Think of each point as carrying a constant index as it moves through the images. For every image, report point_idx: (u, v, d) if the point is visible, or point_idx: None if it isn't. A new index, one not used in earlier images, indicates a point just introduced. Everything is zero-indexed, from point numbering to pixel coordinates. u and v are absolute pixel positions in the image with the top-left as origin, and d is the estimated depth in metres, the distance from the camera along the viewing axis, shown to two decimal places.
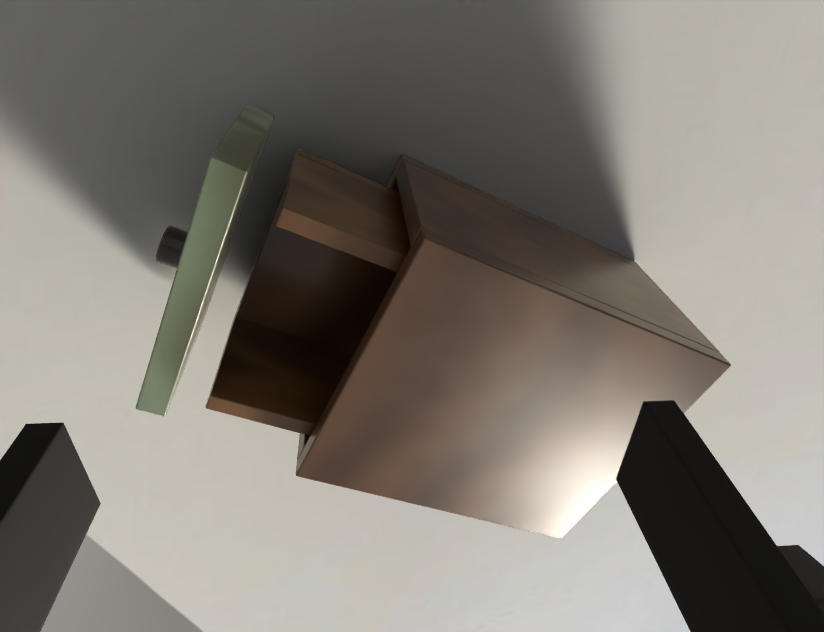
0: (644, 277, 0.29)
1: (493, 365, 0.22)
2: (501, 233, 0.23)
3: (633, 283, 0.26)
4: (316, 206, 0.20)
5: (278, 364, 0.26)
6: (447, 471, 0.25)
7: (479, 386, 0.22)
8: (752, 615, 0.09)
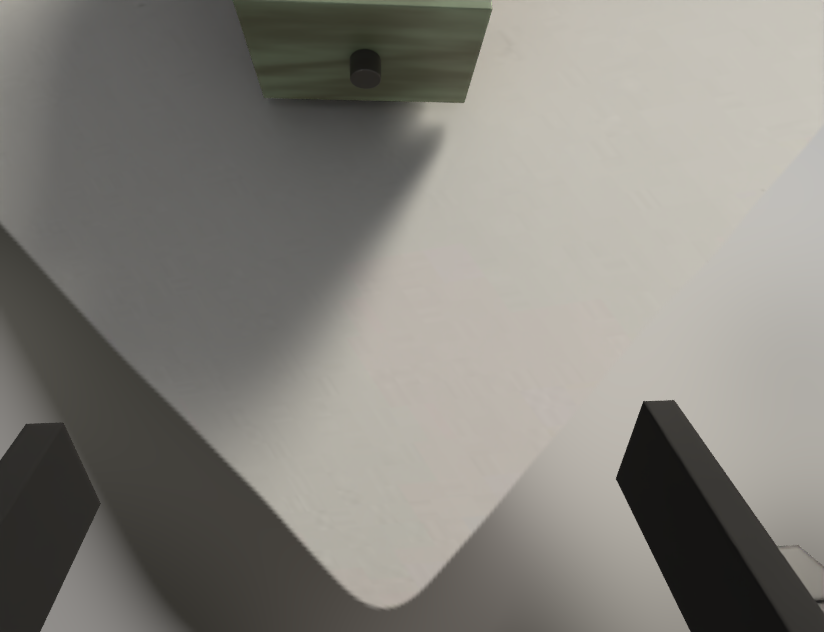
0: None
1: None
2: None
3: None
4: None
5: None
6: None
7: None
8: (752, 615, 0.09)
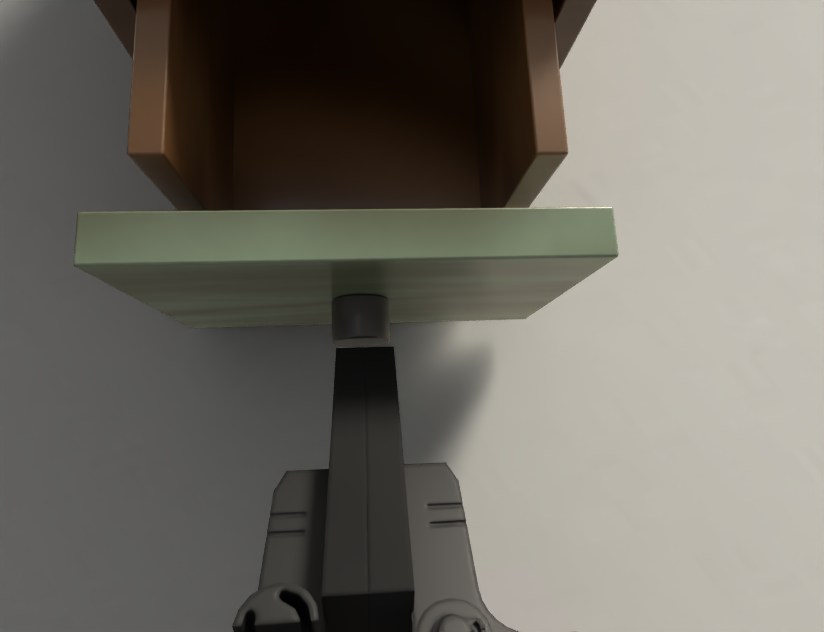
0: None
1: None
2: None
3: None
4: None
5: (495, 128, 0.16)
6: None
7: None
8: None
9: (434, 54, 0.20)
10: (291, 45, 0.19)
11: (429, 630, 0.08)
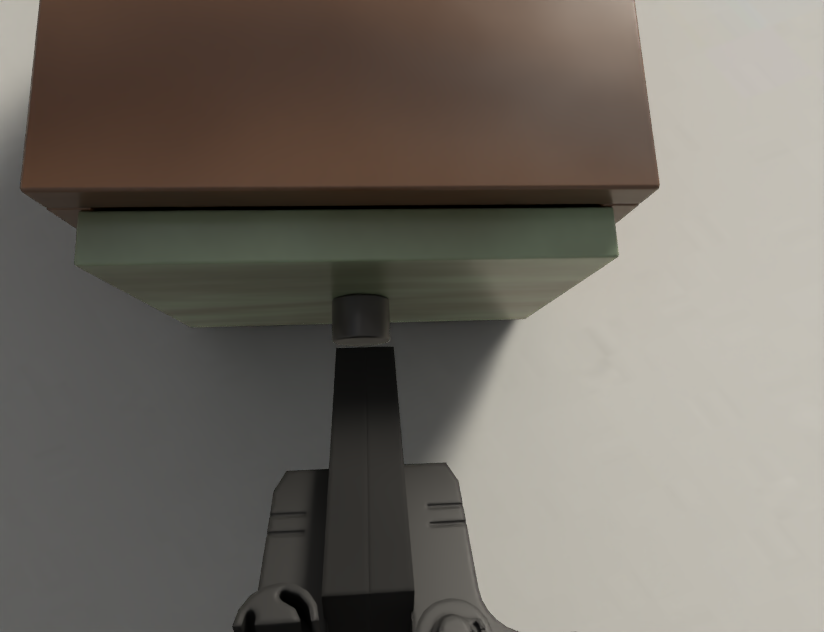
0: None
1: None
2: None
3: None
4: None
5: None
6: None
7: None
8: None
9: None
10: None
11: (429, 630, 0.08)
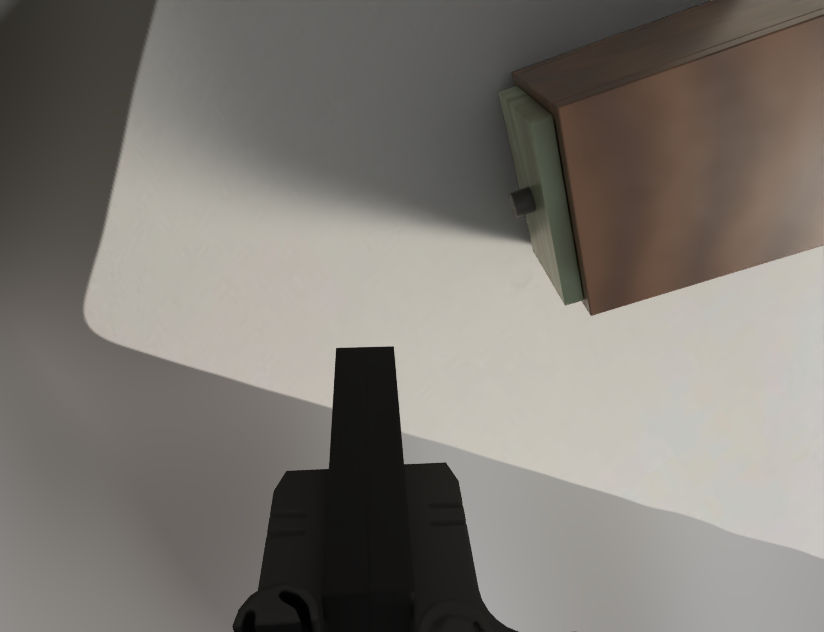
0: None
1: (669, 149, 0.27)
2: (612, 62, 0.28)
3: (753, 5, 0.29)
4: None
5: None
6: (696, 246, 0.31)
7: (669, 170, 0.28)
8: None
9: None
10: None
11: (429, 630, 0.08)
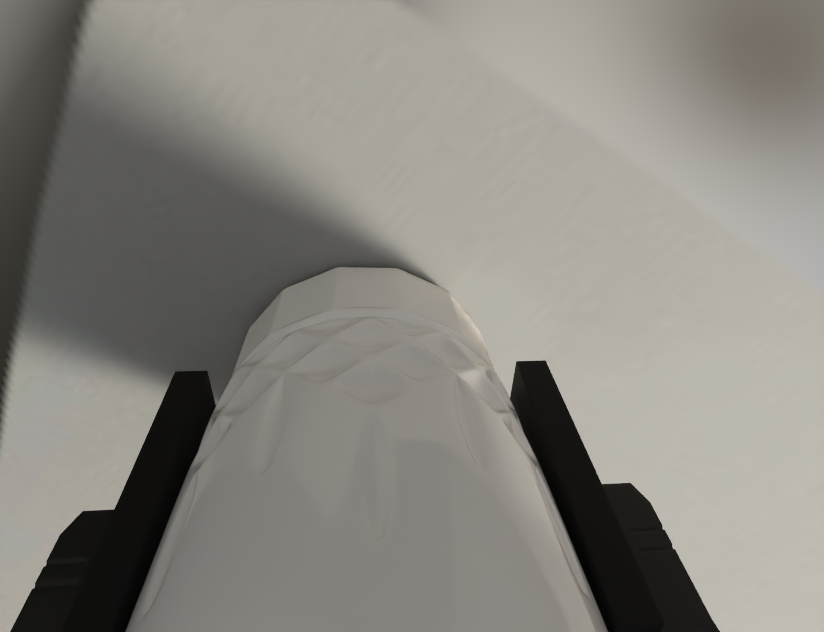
0: None
1: None
2: None
3: None
4: None
5: None
6: None
7: None
8: (570, 538, 0.10)
9: None
10: None
11: None
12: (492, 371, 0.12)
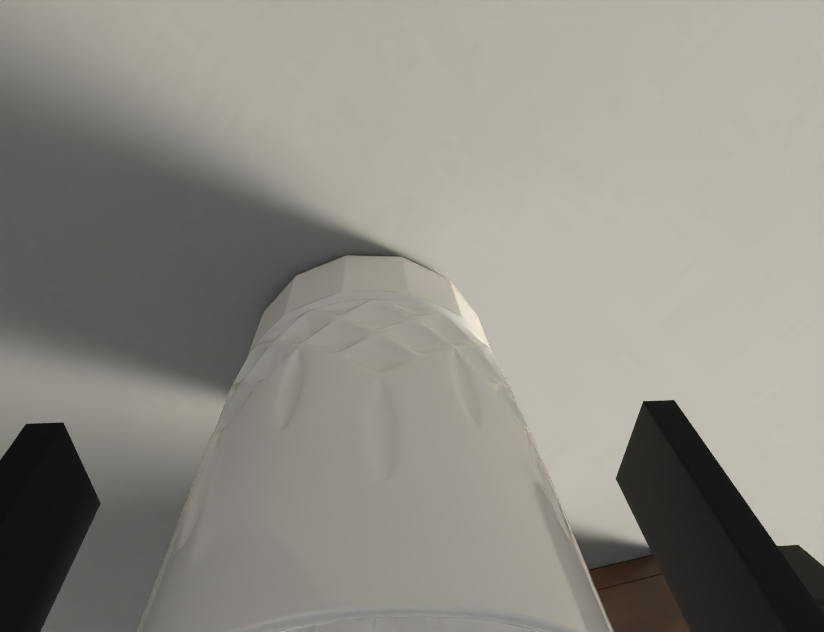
0: (676, 604, 0.22)
1: None
2: None
3: None
4: None
5: None
6: None
7: None
8: (752, 615, 0.09)
9: None
10: None
11: None
12: (488, 350, 0.13)
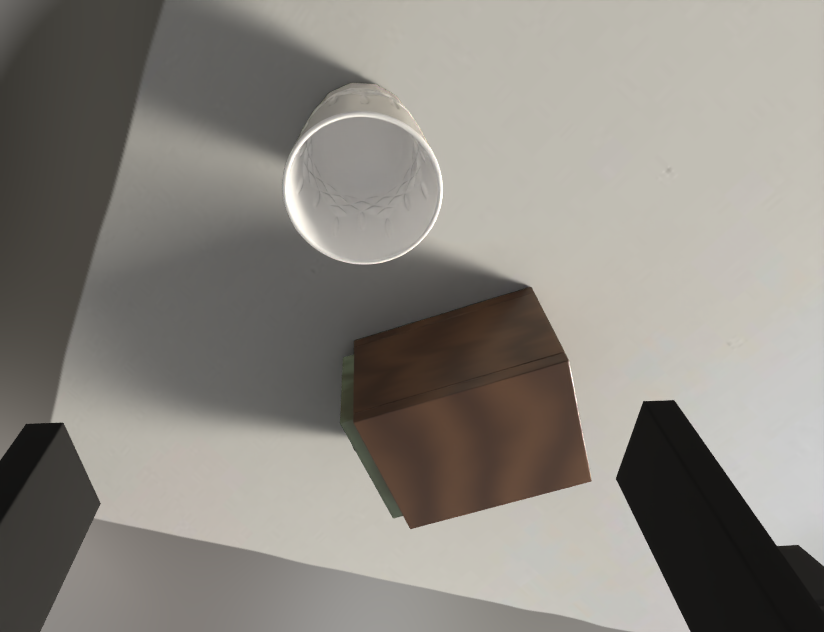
0: (529, 304, 0.41)
1: (441, 440, 0.38)
2: (407, 368, 0.39)
3: (511, 325, 0.39)
4: None
5: None
6: (479, 489, 0.41)
7: (445, 450, 0.38)
8: (752, 615, 0.09)
9: None
10: None
11: None
12: (410, 114, 0.31)
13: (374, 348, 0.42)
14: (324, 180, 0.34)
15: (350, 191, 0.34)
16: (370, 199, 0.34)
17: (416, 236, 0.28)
